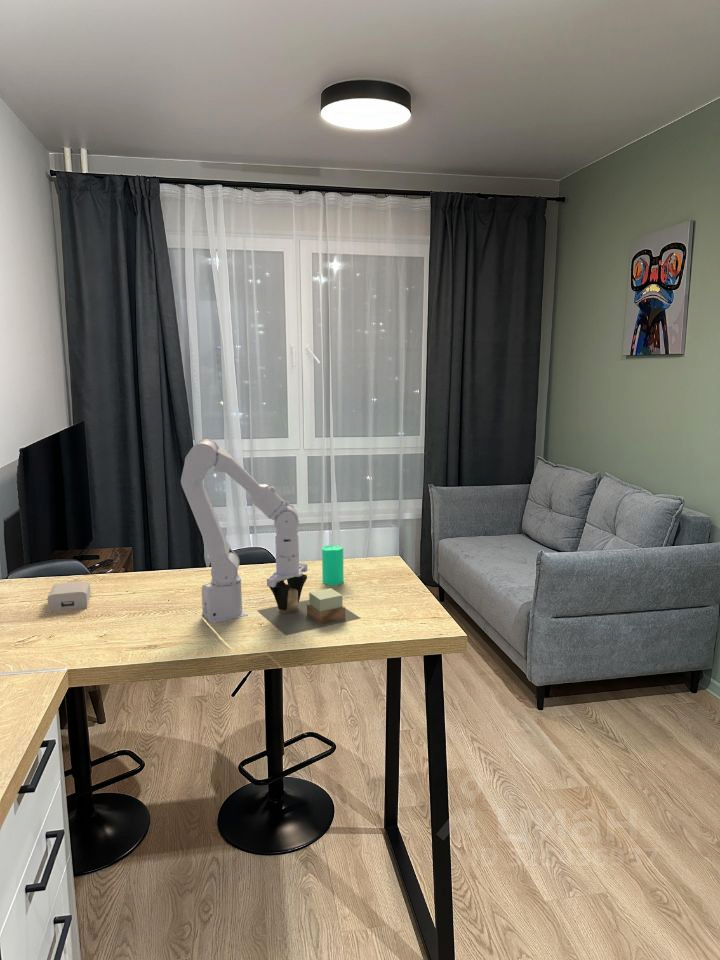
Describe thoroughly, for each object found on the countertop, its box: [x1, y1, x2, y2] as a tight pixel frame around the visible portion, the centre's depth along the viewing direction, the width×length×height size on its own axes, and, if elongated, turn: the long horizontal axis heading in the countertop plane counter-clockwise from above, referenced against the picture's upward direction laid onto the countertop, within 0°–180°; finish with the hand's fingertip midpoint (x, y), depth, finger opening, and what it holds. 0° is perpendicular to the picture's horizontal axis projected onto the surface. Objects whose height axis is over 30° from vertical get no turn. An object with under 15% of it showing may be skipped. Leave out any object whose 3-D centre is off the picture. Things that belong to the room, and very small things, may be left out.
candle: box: [321, 542, 345, 586], centre depth 189 cm, size 6×6×12 cm
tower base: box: [307, 603, 346, 625], centre depth 163 cm, size 7×7×3 cm
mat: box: [256, 599, 361, 636], centre depth 165 cm, size 20×18×1 cm
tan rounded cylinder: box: [279, 588, 298, 614], centre depth 168 cm, size 5×5×5 cm
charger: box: [46, 580, 92, 613], centre depth 177 cm, size 5×9×15 cm
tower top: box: [308, 587, 344, 612], centre depth 163 cm, size 6×6×3 cm
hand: (288, 605), depth 168 cm, fingers closed on tan rounded cylinder, 5 cm apart
